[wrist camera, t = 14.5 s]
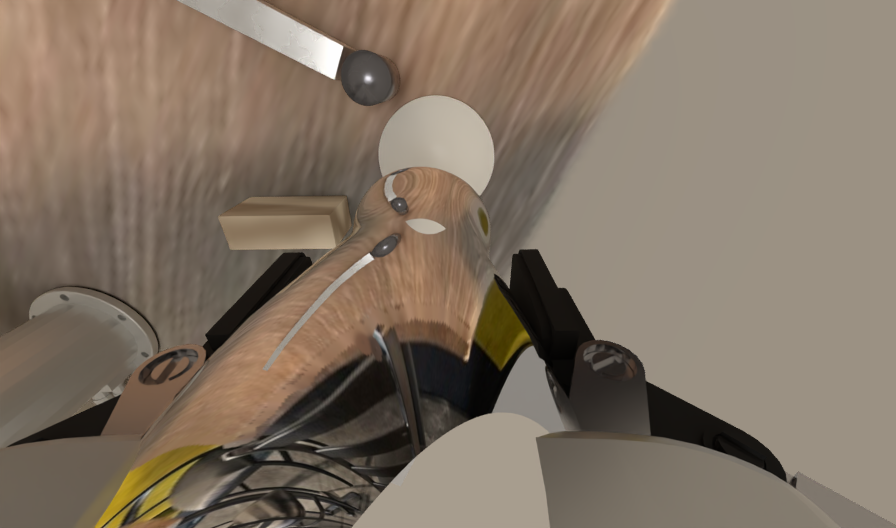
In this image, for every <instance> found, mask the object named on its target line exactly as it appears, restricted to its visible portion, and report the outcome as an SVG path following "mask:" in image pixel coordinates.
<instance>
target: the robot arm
mask: <svg viewBox="0 0 896 528" xmlns="http://www.w3.org/2000/svg"><path fill="white" fill-rule="evenodd" d="M310 265H312V261H311V259H310V257H306V256H305V254H304V253H283V254H282V255H281V256H280V257H279V258H278V259H277V260H276V261H275V262H274V263H273V264H272V265H271V266H270V267H269V268H268V269H267V271H266V272H265V273H264V274H263V275H262V276H261V277H260V278H259V279H258V280H257V281H256V282H255V283H254V284H253V285H252V286H251V287H250V288H249V289H248V290H247V291H246V293H245V294H244V295H243V296H242V297H241V298H240V299H239V300H238V301H237V302H236V303H235V304H234V305H233V306H232V307H231V308H230V309H229V310H228V311H227V312H226V313H225V314H224V316H223V317H222V318H221V319H220V320H219V321H218V322H217V323H216V324H215V325H214V326H213V327H212V328H211V329H210V330H209V331H208V332H207V333H206V334H205V335H206V338H207V340H208V341H207V342H206V343H205V344H204V345H203V347H202V346H199V345H196V344H186V345H180V346H176V347H173V348H170V349H166V350H164V351H162V352H160V353H158V342H157V339H156V336H155V334H154V332H153V330H152V329H151V327H150V326H149V325H148V323H147V322H146V321H145V320H144V319H143V318H142V317H141V316H140V315H139V314H138V313H137V312H136V311H134V310H133V309H131V308H130V307H129V306H127V305H126V304H124V303H122V302H120V301H119V300H117V299H115V298H113V297H111V296H108V295H106V294H104V293H101V292H97V291H94V290H91V289H85V288H79V287H61V288H56V289H53V290H50V291H48V292H46V293H44V294H42V295H41V296H39V297H37V298H36V299H35V300H34V301H33V302H32V304H31V306H30V309H29V319H30V320H29V321H27V322H26V323H24V324H22V325H20V326H19V327H17V328H15V329H13V330H12V331H10V332H8V333H6V334H5V335H3V336H1V337H0V528H73V527H74V526H75V524H76V523H77V521H78V520H79V519H80V517H81V516H82V515H83V513H84V512H85V511H86V509H87V508H88V507H89V505H90V504H91V502H92V501H93V500H94V498H95V497H96V496H97V495H98V493H99V492H100V491H101V490H102V488H103V487H104V486H105V485H106V483H107V482H108V481H109V480H110V478H111V477H112V476H113V475H114V473H115V472H116V471H117V470H118V468H119V467H120V466H121V465H122V463H123V462H124V461H125V460H126V458H127V457H128V456H129V455H130V453H131V452H132V451H133V450H134V448H135V447H136V446H137V444H138V443H139V442H140V437H141V435H142V433H143V432H144V431H145V430H146V428H147V427H148V426H149V425H150V424H151V422H152V421H153V420H154V419H155V417H156V416H157V415H158V414H159V413H160V411H161V410H162V409H163V408H164V407H165V405H166V404H167V403H168V402H169V401H170V400H171V398H172V397H173V396H174V395H175V394H176V393H177V392H178V391H179V390H180V389H181V388H182V387H183V385H184V384H185V383H186V382H187V381H188V380H189V379H190V378H191V377H192V376H193V375H194V374H195V372H196V371H197V370H198V369H199V368H200V367H201V366H202V365H203V364H204V363H205V362H206V361H207V359H208V358H209V357H210V356H211V355H212V354H213V353H214V352H215V351H216V350H217V349H218V348H219V347H220V345H221V344H222V343H223V342H224V341H225V340H226V339H227V338H228V337H229V336H230V335H231V334H232V332H233V331H234V330H235V329H236V328H237V327H238V326H240V325H241V324H242V323H243V322H244V321H245V320H246V319H247V318H249V317H250V316H251V315H252V314H253V313H254V312H255V311H257V310H258V309H259V308H260V307H261V306H262V305H263V304H264V303H266V302H267V301H268V300H269V299H270V298H271V297H272V296H274V295H275V294H276V293H277V292H278V291H279V290H280V289H281V288H283V287H284V286H285V285H286V284H287V283H288V282H290V281H291V280H292V279H293V278H295V277H296V276H297V275H299V274H300V273H301V272H303V271H304V270H305V269H307V268H308V267H309V266H310ZM510 291H511V293H512V294H513V296H514V297H515V299H516V300H517V302H518V303H519V305H520V307H521V308H522V310H523V311H524V313H525V314H526V316H527V318H528V319H529V321H530V323H531V325H532V326H533V328H534V330H535V332H536V334H537V336H538V337H539V339H540V341H541V343H542V345H543V347H544V348H545V350H546V352H547V354H548V356H549V358H550V359H551V361H552V363H553V365H554V367H555V369H556V370H557V372H558V375H559V377H560V379H561V381H562V384H563V386H564V389H565V391H566V393H567V396H568V398H569V401H570V403H571V405H572V408H573V410H574V413H575V415H576V417H577V420H578V422H579V425H580V427H581V429H582V431H559V432H553V433H549V434H546V435H543V436H540V437H536V442H537V448H538V453H539V459H540V464H541V469H542V475H543V480H544V486H545V491H546V498H547V506H548V515H549V523H550V528H896V525H895V524H893V523H891V522H889V521H887V520H885V519H884V518H882V517H880V516H878V515H876V514H874V513H873V512H871V511H869V510H867V509H865V508H864V507H862V506H860V505H858V504H856V503H854V502H853V501H851V500H849V499H847V498H845V497H844V496H842V495H840V494H838V493H836V492H834V491H832V490H831V489H829V488H827V487H825V486H823V485H822V484H820V483H818V482H816V481H814V480H812V479H811V478H809V477H807V476H805V475H803V474H801V473H800V472H797V473H796V475H795V476H792V475H790V474H788V473H787V472H785V471H784V469H783V467H782V465H781V464H780V462H779V461H778V459H777V458H776V457H775V456H774V455H773V454H772V452H771V451H770V450H769V449H768V448H766V447H765V446H764V445H763V444H762V443H760V442H759V441H758V440H757V439H755V438H754V437H752V436H750V435H749V434H747V433H745V432H744V431H742V430H740V429H738V428H736V427H734V426H732V425H730V424H728V423H726V422H725V421H723V420H720V419H719V418H717V417H715V416H713V415H711V414H709V413H707V412H705V411H703V410H701V409H699V408H697V407H695V406H694V405H692V404H690V403H688V402H686V401H684V400H682V399H680V398H678V397H676V396H674V395H672V394H670V393H668V392H666V391H664V390H663V389H660V388H659V387H657V386H655V385H653V384H651V383H649V382H647V381H646V378H645V370H644V367H643V364H642V362H641V361H640V360H639V358H638V357H637V356H636V355H635V354H634V353H632V352H631V351H630V350H629V349H627V348H625V347H623V346H621V345H619V344H616V343H613V342H610V341H604V340H595V339H594V337H593V335H592V333H591V331H590V330H589V328H588V326H587V324H586V323H585V321H584V319H583V317H582V315H581V314H580V312H579V310H578V308H577V306H576V305H575V303H574V301H573V299H572V298H571V296H570V294H569V292H568V291H567V289H565V288H558V287H557V285H556V284H555V282H554V280H553V278H552V276H551V274H550V272H549V270H548V268H547V266H546V264H545V262H544V261H543V259H542V257H541V255H540V253H539V251H538V250H537V249H529V250H519V253H518V254H513V257H512V267H511V278H510ZM157 353H158V354H157ZM131 374H132V375H131ZM129 375H131V377H130V379H129V381H128V383H127V384H126V385H125V383H124V382H125V379H126V378H127V377H128V376H129ZM91 398H92V400H93V401H94V403H95V404H96V406H94V407H92V408H90V409H87V410H85V411H83V412H81V413H79V414H76V415H74V416H72V415H73V414H74V413H76V412H77V411H78V410H79V409H80V408H81V407H82V406H83V405H85V404H86V403H87V402H88V401H89V400H90V399H91ZM71 416H72V417H71Z"/></svg>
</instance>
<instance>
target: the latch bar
mask: <svg viewBox="0 0 896 528" xmlns="http://www.w3.org/2000/svg"><path fill="white" fill-rule="evenodd" d="M177 1H179V2H181V3H183V4H185V5H187V6H189V7H191V8H193V9H195V10H197V11H199V12H201V13H203V14H205V15H207V16H209V17H211V18H213V19H215V20H217V21H219V22H221V23H223V24H225V25H227V26H229V27H231V28H233V29H235V30H237V31H239V32H241V33H243V34H245V35H247V36H249V37H251V38H253V39H255V40H257V41H259V42H260V43H262V44H264V45H266V46H268V47H270V48H272V49H274V50H276V51H278V52H280V53H282V54H284V55H286V56H288V57H290V58H292V59H294V60H296V61H298V62H300V63H302V64H304V65H306V66H308V67H310V68H312V69H314V70H316V71H318V72H320V73H322V74H324V75H326V76H328V77H330V78H332V79H334V80H341V81H342V85H343V88H344V90H345V92H346V93H347V95H348V96H349V97H350V98H351V99H352V100H353V101H355V102H356V103H358V104H361V105H365V106H371V105H375V104H378V103H381V102H384V101H387V100H390V99H391V98H393V97H394V96H395V95H396V93H397V92H398V89H399V86H400V75H399V71H398V69H397V67H396V66H395V64H394V63H393V62H392V61H391V60H390V59H388V58H386V57H384V56H381V55H378V54H376V53H373V52H370V51H366V50H359V51H357V50H356V49H354V48H352V47H350V46H348V45H346V44H344V43H342V42H341V41H339V40H337V39H335V38H333V37H331V36H329V35H327V34H325V33H324V32H322V31H320V30H318V29H316V28H314V27H312V26H310V25H309V24H307V23H305V22H303V21H301V20H299V19H297V18H295V17H294V16H292V15H290V14H288V13H286V12H284V11H282V10H280V9H278V8H277V7H275V6H273V5H271V4H269V3H267V2H265V1H263V0H177Z"/></svg>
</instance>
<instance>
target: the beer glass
mask: <svg viewBox="0 0 896 528" xmlns="http://www.w3.org/2000/svg"><path fill="white" fill-rule="evenodd" d="M490 244H491V222H490V217H489V214H488V211H487V209H486V207H485V205H484V203H483V201H482V199H481V198H480V196H479V195H478V194H477V193H476V191H475V190H474V189H473V188H472V187H471V186H470V185H469V184H468V183H467V182H465V181H464V180H463V179H461V178H460V177H458V176H456V175H454V174H452V173H450V172H448V171H445V170H442V169H438V168H433V167H425V166H417V167H408V168H403V169H399V170H396V171H394V172H391V173H389V174H387V175H385V176H384V177H382V178H381V179H379V180H378V181H377V182H375V183H374V184H373V185H372V186H371V187H370V188H369V189H368V191H367V192H366V193H365V195H364V196H363V198H362V200H361V201H360V203H359V206H358V208H357V211H356V215H355V219H354V226H353V231H352V234H351V235H350V236H349V237H347V238H346V239H345V240H344V241H343V242H341V243H340V244H339V245H337V246H336V247H334V248H333V249H332V250H330V251H329V252H328V253H326V254H325V255H324V256H322V257H321V258H320V259H318V260H317V261H316V262H314V263H313V264H312V265H310V266H309V267H308V268H307V269H305V270H304V271H303V272H301V273H300V274H299V275H297V276H296V277H295V278H293V279H292V280H291V281H290V282H288V283H287V284H286V285H285V286H284V287H283V288H281V289H280V290H279V291H278V292H277V293H276V294H275V295H274V296H272V297H271V298H270V299H269V300H268V301H267V302H266V303H264V304H263V305H262V306H261V307H260V308H259V309H258V310H257V311H255V312H254V313H253V314H252V315H251V316H250V317H249V318H247V319H246V320H245V321H244V322H243V323H242V324H241V325H240V326H238V327H237V328H236V329H235V330H234V331H233V332H232V334H231V335H230V336H229V337H228V338H227V339H226V340H225V341H224V342H223V343H222V344H221V345H220V347H219V348H218V349H217V350H216V351H215V352H214V353H213V354H212V355H211V356H210V357H209V358H208V359H207V361H206V362H205V363H204V364H203V365H202V366H201V367H200V368H199V369H198V370H197V371H196V372H195V374H194V375H193V376H192V377H191V378H190V379H189V380H188V381H187V382H186V383H185V384H184V385H183V387H182V388H181V389H180V390H179V391H178V392H177V393H176V394H175V395H174V396H173V397H172V398H171V400H170V401H169V402H168V403H167V404H166V405H165V407H164V408H163V409H162V410H161V411H160V413H159V414H158V415H157V416H156V417H155V419H154V420H153V421H152V422H151V424H150V425H149V426H148V427H147V428H146V430H145V431H144V432H143V433H142V435H141V437H140V442H139V443H138V444H137V446H136V447H135V448H134V450H133V451H132V452H131V453H130V455H129V456H128V457H127V458H126V460H125V461H124V462H123V463H122V465H121V466H120V467H119V468H118V470H117V471H116V472H115V473H114V475H113V476H112V477H111V478H110V480H109V481H108V482H107V483H106V485H105V486H104V487H103V488H102V490H101V491H100V492H99V493H98V495H97V496H96V497H95V498H94V500H93V501H92V502H91V504H90V505H89V507H88V508H87V509H86V511H85V512H84V513H83V515H82V516H81V517H80V519H79V520H78V521H77V523H76V524H75V526H74V527H73V528H550V523H549V515H548V506H547V498H546V491H545V486H544V480H543V475H542V469H541V464H540V459H539V453H538V448H537V442H536V437H540V436H543V435H546V434H549V433H553V432H559V431H582V429H581V427H580V425H579V422H578V420H577V417H576V415H575V413H574V410H573V408H572V405H571V403H570V401H569V398H568V396H567V393H566V391H565V389H564V386H563V384H562V381H561V379H560V377H559V375H558V372H557V370H556V369H555V367H554V365H553V363H552V361H551V359H550V358H549V356H548V354H547V352H546V350H545V348H544V347H543V345H542V343H541V341H540V339H539V337H538V336H537V334H536V332H535V330H534V328H533V326H532V325H531V323H530V321H529V319H528V318H527V316H526V314H525V313H524V311H523V310H522V308H521V307H520V305H519V303H518V302H517V300H516V299H515V297H514V296H513V294H512V293H511V291H510V289H509V288H508V286H507V285H506V283H505V282H504V280H503V279H502V277H501V276H500V274H499V273H498V272H497V270H496V269H495V267H494V265H493V264H492V262H491V261H490V259H489V250H490Z"/></svg>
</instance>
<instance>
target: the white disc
mask: <svg viewBox="0 0 896 528" xmlns="http://www.w3.org/2000/svg"><path fill="white" fill-rule="evenodd" d="M378 154H379V165H380V170H381V173H382V176H383V177H384V176H385V175H387V174H389V173H391V172H394V171H396V170H399V169H403V168H408V167H417V166H425V167H433V168H438V169H442V170H445V171H448V172H450V173H452V174H454V175H456V176H458V177H460V178H461V179H463V180H464V181H465V182H467V183H468V184H469V185H470V186H471V187H472V188H473V189H474V190H475V191H476V193H477V194H478V195H479V196H480V195H481V194H482V192H483V191H484V189H485V188H486V186H487V184H488V182H489V180H490V178H491V175H492V171H493V167H494V146H493V141H492V138H491V135H490V132H489V130H488V128H487V126H486V125H485V123H484V121H483V120H482V119H481V117H480V116H479V115H478V114H477V113H476V112H475V111H474V110H473V109H472V108H471V107H469V106H468V105H466V104H465V103H463V102H461V101H459V100H457V99H454V98H451V97H447V96H440V95H432V96H424V97H420V98H417V99H415V100H412V101H410V102H409V103H407V104H405V105H404V106H402V107H401V108H400V109H399V110H397V111H396V112H395V113H394V115H393V116H392V117H391V118H390V120H389V121H388V122H387V124H386V126H385V128H384V130H383V133H382V136H381V139H380V144H379V153H378Z"/></svg>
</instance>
